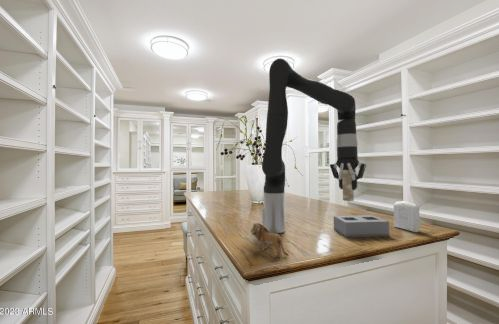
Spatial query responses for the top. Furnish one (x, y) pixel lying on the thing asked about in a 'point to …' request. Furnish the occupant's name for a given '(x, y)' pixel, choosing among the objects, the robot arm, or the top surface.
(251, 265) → the top surface
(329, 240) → the top surface
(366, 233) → the hole block
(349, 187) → the pin
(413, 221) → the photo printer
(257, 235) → the lion figurine
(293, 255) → the top surface
